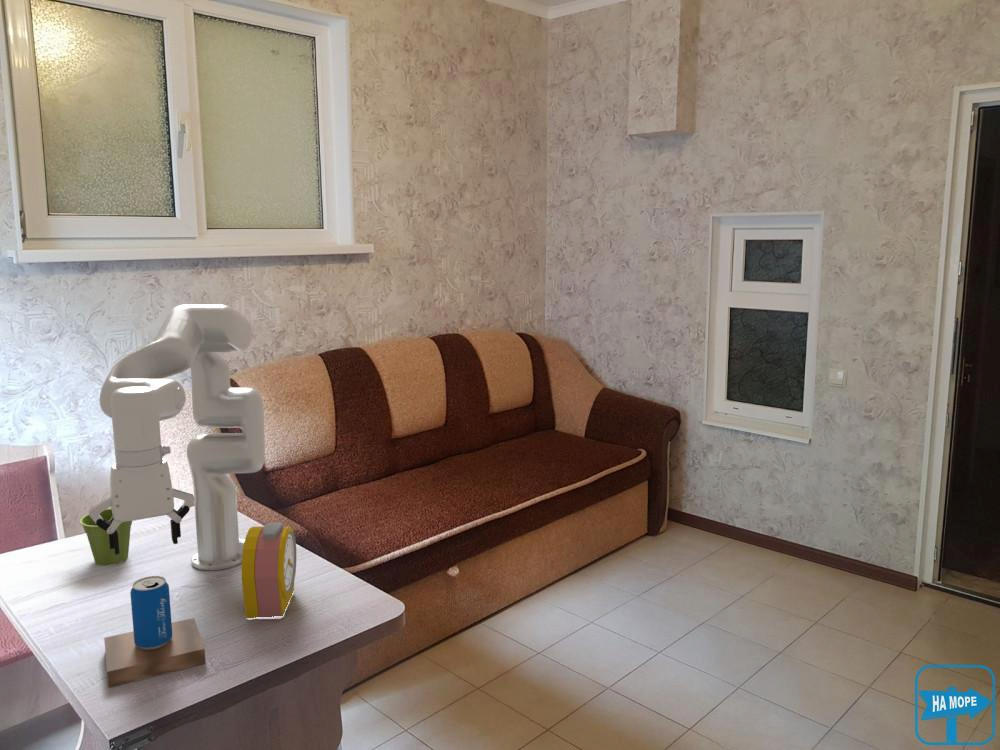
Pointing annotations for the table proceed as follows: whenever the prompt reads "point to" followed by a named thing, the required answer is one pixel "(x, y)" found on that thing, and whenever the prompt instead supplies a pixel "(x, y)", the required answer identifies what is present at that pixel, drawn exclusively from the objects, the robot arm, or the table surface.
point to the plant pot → (106, 540)
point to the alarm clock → (268, 569)
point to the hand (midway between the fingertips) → (146, 546)
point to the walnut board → (153, 654)
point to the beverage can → (151, 612)
